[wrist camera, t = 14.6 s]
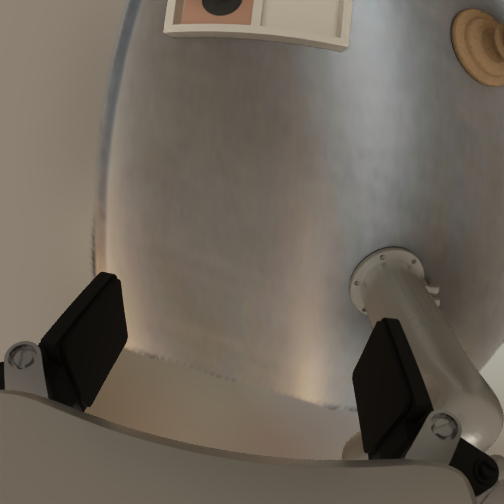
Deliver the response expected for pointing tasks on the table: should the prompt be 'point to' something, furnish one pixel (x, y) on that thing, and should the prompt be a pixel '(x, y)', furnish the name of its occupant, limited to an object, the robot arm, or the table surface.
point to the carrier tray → (266, 22)
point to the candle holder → (479, 46)
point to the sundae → (221, 6)
